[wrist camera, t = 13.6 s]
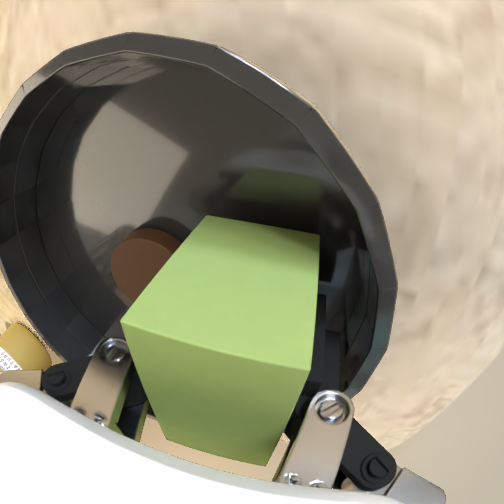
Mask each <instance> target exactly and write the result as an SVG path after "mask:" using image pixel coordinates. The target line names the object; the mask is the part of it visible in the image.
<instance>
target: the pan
mask: <svg viewBox="0 0 504 504" xmlns="http://www.w3.org/2000/svg"><path fill="white" fill-rule="evenodd" d="M207 215H209V216H215V217H221V218H227V219H233V220H239V221H245V222H251V223H257V224H262V225H268V226H274V227H279V228H285V229H290V230H296V231H301V232H307V233H312V234H317V235H320V253H319V274H318V291H317V293H318V294H324V295H326V326H325V330H331V331H337V332H339V333H340V365H339V391H340V392H342V393H344V394H346V395H347V396H348V397H349V398H350V399H351V398H353V397H354V396H355V395H356V394H358V393H359V392H360V391H361V390H362V389H363V387H364V386H365V384H366V383H367V381H368V379H369V378H370V376H371V375H372V373H373V372H374V370H375V368H376V367H377V365H378V364H379V362H380V360H381V359H382V357H383V355H384V354H385V352H386V350H387V347H388V344H389V339H390V333H391V328H392V323H393V317H394V311H395V304H396V298H397V290H398V281H397V275H396V270H395V265H394V260H393V256H392V251H391V247H390V242H389V238H388V234H387V230H386V226H385V222H384V218H383V214H382V210H381V207H380V203H379V201H378V198H377V196H376V194H375V192H374V191H373V189H372V187H371V185H370V183H369V181H368V180H367V178H366V176H365V174H364V173H363V171H362V169H361V167H360V166H359V164H358V163H357V161H356V160H355V158H354V157H353V155H352V154H351V152H350V151H349V149H348V148H347V147H346V145H345V144H344V142H343V141H342V139H341V138H340V137H339V135H338V134H337V132H336V131H335V130H334V129H333V127H332V126H331V125H330V123H329V122H328V121H327V119H326V118H325V117H324V115H323V114H322V113H321V112H320V110H319V109H318V108H317V107H316V106H314V104H313V103H312V102H311V101H309V100H308V99H307V98H305V97H304V96H303V95H301V94H300V93H298V92H297V91H296V90H294V89H293V88H291V87H290V86H288V85H287V84H286V83H284V82H283V81H281V80H280V79H278V78H277V77H275V76H274V75H272V74H271V73H269V72H267V71H266V70H264V69H263V68H261V67H260V66H258V65H256V64H255V63H253V62H251V61H249V60H247V59H245V58H243V57H241V56H239V55H237V54H235V53H233V52H231V51H229V50H227V49H225V48H222V47H219V46H217V45H214V44H209V43H205V42H200V41H195V40H190V39H184V38H178V37H172V36H165V35H158V34H150V33H140V32H126V33H122V34H117V35H113V36H109V37H105V38H102V39H98V40H94V41H91V42H88V43H84V44H81V45H78V46H75V47H72V48H69V49H66V50H65V51H63V52H61V53H60V54H59V55H57V56H56V57H55V58H53V59H52V60H51V61H49V62H48V63H47V64H46V65H44V66H43V67H42V68H41V69H39V70H38V71H37V72H36V73H34V74H33V75H32V76H31V77H30V78H29V79H27V80H26V81H25V82H24V83H23V84H22V85H21V87H20V88H19V90H18V91H17V93H16V94H15V96H14V97H13V99H12V101H11V102H10V104H9V105H8V107H7V109H6V110H5V112H4V114H3V116H2V117H1V119H0V268H1V271H2V273H3V276H4V278H5V281H6V283H7V285H8V287H9V289H10V290H11V292H12V294H13V296H14V298H15V300H16V301H17V303H18V305H19V306H20V308H21V310H22V312H23V313H24V315H25V316H26V318H27V319H28V321H29V322H30V323H31V325H32V326H33V327H34V329H35V330H36V331H37V333H38V334H39V335H40V336H41V338H42V339H43V340H44V341H45V343H46V344H47V345H48V346H49V347H50V348H51V349H52V350H53V351H54V352H55V353H56V354H57V355H58V356H59V357H60V358H61V359H62V360H63V361H64V362H68V361H72V360H76V359H79V358H83V357H87V356H91V355H93V354H94V352H95V350H96V348H97V347H98V345H99V344H100V343H101V342H102V341H103V340H105V339H107V338H109V337H115V336H117V337H123V338H125V335H124V332H123V329H122V325H121V322H120V321H121V319H122V318H123V316H124V315H125V314H126V312H127V311H128V310H129V308H130V307H131V306H132V305H133V303H134V302H133V301H131V300H130V299H129V298H128V297H127V296H126V295H125V294H124V293H123V292H122V291H121V290H120V288H119V287H118V285H117V284H116V282H115V280H114V278H113V275H112V271H111V257H112V254H113V251H114V250H115V248H116V247H117V246H118V245H119V244H120V243H121V242H122V241H123V240H124V239H125V238H126V236H127V235H129V234H130V233H131V232H133V231H135V230H139V229H144V228H151V229H157V230H161V231H163V232H166V233H168V234H170V235H172V236H173V237H175V238H176V239H177V240H179V241H180V242H181V243H183V242H184V241H185V240H186V238H187V237H188V236H189V235H190V234H191V233H192V231H193V230H194V229H195V228H196V227H197V226H198V224H199V223H200V222H201V221H202V220H203V219H204V218H205V216H207ZM146 416H147V417H149V418H152V419H155V420H157V418H156V416H155V414H154V411H153V409H152V407H151V405H150V404H149V407H148V411H147V415H146ZM157 421H158V420H157ZM284 432H285V429H284V431H283V433H284Z"/></svg>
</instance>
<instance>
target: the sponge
mask: <svg viewBox="0 0 504 504" xmlns="http://www.w3.org/2000/svg"><path fill="white" fill-rule="evenodd" d="M319 253H320V235H317V234H312V233H307V232H301V231H296V230H290V229H285V228H279V227H274V226H268V225H262V224H257V223H251V222H245V221H239V220H233V219H227V218H221V217H215V216H209V215H207V216H205V218H204V219H203V220H202V221H201V222H200V223H199V224H198V226H197V227H196V228H195V229H194V230H193V231H192V233H191V234H190V235H189V236H188V237H187V238H186V240H185V241H184V242H183V243H182V244H181V245H180V247H179V248H178V249H177V250H176V251H175V253H174V254H173V255H172V256H171V257H170V259H169V260H168V261H167V262H166V263H165V265H164V266H163V267H162V268H161V269H160V271H159V272H158V273H157V274H156V276H155V277H154V278H153V279H152V281H151V282H150V283H149V284H148V286H147V287H146V288H145V289H144V291H143V292H142V293H141V294H140V296H139V297H138V298H137V299H136V301H135V302H134V303H133V305H132V306H131V307H130V308H129V310H128V311H127V312H126V314H125V315H124V316H123V318H122V319H121V321H120V322H121V325H122V329H123V332H124V335H125V338H126V341H127V344H128V347H129V350H130V353H131V356H132V359H133V361H134V364H135V367H136V370H137V372H138V375H139V377H140V380H141V383H142V385H143V388H144V390H145V393H146V395H147V397H148V400H149V402H150V405H151V407H152V409H153V411H154V414H155V416H156V418H157V420H158V423H159V425H160V427H161V429H162V431H163V433H164V435H165V437H166V439H167V440H170V441H172V442H175V443H178V444H181V445H184V446H187V447H190V448H193V449H196V450H200V451H203V452H206V453H210V454H214V455H217V456H221V457H225V458H229V459H233V460H238V461H241V462H246V463H251V464H255V465H260V466H266V465H267V463H268V461H269V459H270V457H271V455H272V453H273V451H274V449H275V447H276V445H277V443H278V441H279V439H280V437H281V435H282V433H283V431H284V429H285V427H286V425H287V423H288V420H289V418H290V416H291V414H292V412H293V410H294V407H295V405H296V403H297V401H298V398H299V396H300V394H301V391H302V389H303V387H304V384H305V382H306V380H307V377H308V375H309V372H310V370H311V362H312V352H313V342H314V331H315V319H316V306H317V291H318V274H319Z"/></svg>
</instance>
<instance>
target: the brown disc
mask: <svg viewBox="0 0 504 504" xmlns="http://www.w3.org/2000/svg"><path fill="white" fill-rule="evenodd" d="M181 244H182V243H181V242H180V241H179V240H177V239H176V238H175V237H173V236H172V235H170V234H168V233H166V232H163V231H161V230H157V229H151V228H144V229H139V230H135V231H133V232H131V233H130V234H129V235H127V236H126V238H125V239H124V240H123V241H122V242H121V243H120V244H119V245H118V246H117V247H116V248H115V250H114V251H113V254H112V257H111V271H112V275H113V278H114V280H115V282H116V284H117V285H118V287H119V288H120V290H121V291H122V292H123V293H124V294H125V295H126V296H127V297H128V298H129V299H130V300H131V301H133V302H135V301H136V299H137V298H138V297H139V296H140V294H141V293H142V292H143V291H144V289H145V288H146V287H147V286H148V284H149V283H150V282H151V281H152V279H153V278H154V277H155V276H156V274H157V273H158V272H159V271H160V269H161V268H162V267H163V266H164V265H165V263H166V262H167V261H168V260H169V259H170V257H171V256H172V255H173V254H174V253H175V251H176V250H177V249H178V248H179V247H180V245H181Z"/></svg>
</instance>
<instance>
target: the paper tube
mask: <svg viewBox="0 0 504 504" xmlns="http://www.w3.org/2000/svg"><path fill="white" fill-rule="evenodd" d="M51 364H52V361H51V358H50V356H49V354H48V352H47V350H46V349H45V348H44V346H43V345H42V344H41V342H40V341H39V340H38V339H37V338H36V337H35V336H34V335H33V334H32V333H31V332H30V331H29V330H28V329H27V328H26V327H24V326H23V325H21V324H18V323H15V324H12V325H11V326H10V327H9V328H8V329H7V330H6V331H5V332H4V333H3V335H2V336H1V337H0V374H1V373H3V372H4V371H7V370H34V369H42V370H43V371H44V372H45V371H46V370H47V369H48V368H50V367H51Z"/></svg>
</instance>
